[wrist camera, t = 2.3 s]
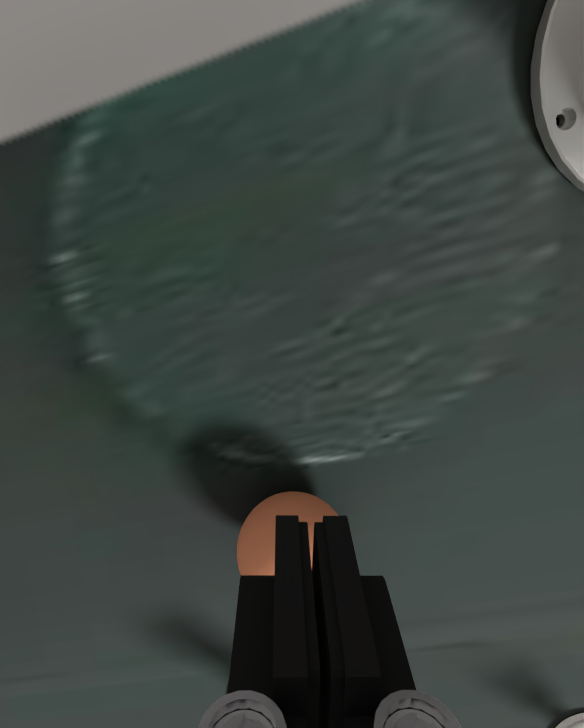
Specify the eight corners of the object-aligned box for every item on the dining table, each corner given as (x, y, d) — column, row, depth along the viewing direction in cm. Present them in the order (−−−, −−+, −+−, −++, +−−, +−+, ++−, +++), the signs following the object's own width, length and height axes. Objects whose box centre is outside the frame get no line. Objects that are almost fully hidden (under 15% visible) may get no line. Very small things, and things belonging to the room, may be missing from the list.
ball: (241, 469, 27) (229, 540, 21) (345, 470, 27) (362, 541, 21) (242, 555, 29) (232, 641, 23) (339, 555, 29) (353, 641, 23)
